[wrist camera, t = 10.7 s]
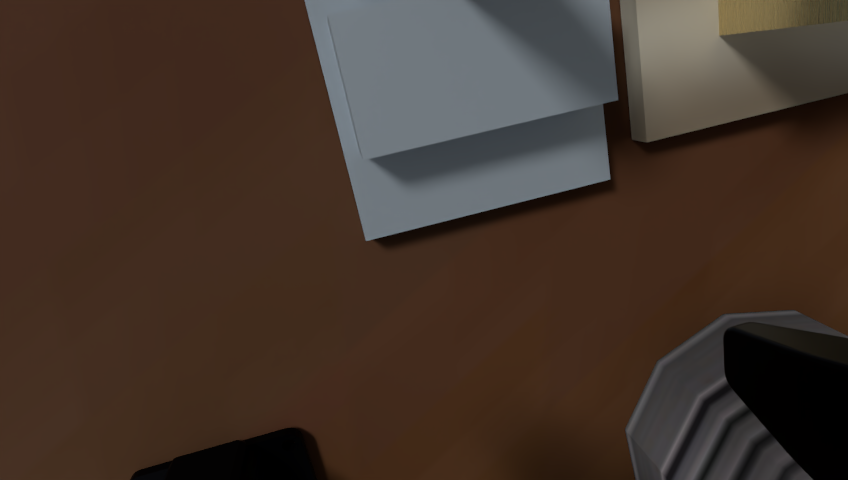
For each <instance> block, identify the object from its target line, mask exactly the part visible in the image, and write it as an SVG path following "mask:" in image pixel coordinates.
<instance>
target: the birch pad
mask: <svg viewBox="0 0 848 480" xmlns="http://www.w3.org/2000/svg"><path fill="white" fill-rule="evenodd" d="M620 8H621V20H622V32H623V43H624V55H625V66H626V78H627V90H628V101H629V113H630V125H631V136H632V140H636V141H641V142H651V141H655V140H659V139H663V138H667V137H671V136H675V135H679V134H683V133H688V132H692V131H696V130H700V129H704V128H708V127H712V126H716V125H720V124H724V123H728V122H732V121H736V120H740V119H744V118H748V117H752V116H756V115H760V114H765V113H769V112H773V111H777V110H781V109H785V108H789V107H793V106H797V105H801V104H805V103H809V102H813V101H817V100H821V99H825V98H829V97H833V96H838V95H842V94H846V93H848V21H841V22H833V23H824V24H816V25H807V26H798V27H790V28H781V29H772V30H764V31H755V32H746V33H738V34H729V35H720V36H719V13H718V0H620Z"/></svg>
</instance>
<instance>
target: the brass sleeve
mask: <svg viewBox="0 0 848 480" xmlns="http://www.w3.org/2000/svg"><path fill="white" fill-rule="evenodd" d="M718 13H719V36H720V35H729V34H738V33H746V32H755V31H764V30H772V29H781V28H790V27H798V26H807V25H816V24H824V23H833V22H841V21H848V0H718Z"/></svg>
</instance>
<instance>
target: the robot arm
mask: <svg viewBox="0 0 848 480" xmlns="http://www.w3.org/2000/svg"><path fill="white" fill-rule="evenodd" d="M723 347H724V372H725V377H726V380H727V382H728V384H729V385H730V387H731V388H732V390H733V391H734V392H735V393H736V394H737V395H738V397H739V398H740V399H741V400H742V401H743V402H744V403H745V405H746V406H747V407H748V408H749V409H750V410H751V412H752V413H753V414H754V415H755V416H756V417H757V418H758V420H759V421H760V422H761V423H762V424H763V425H764V427H765V428H766V429H767V430H768V431H769V432H770V433H771V435H772V436H773V437H774V438H775V439H776V440H777V442H778V443H779V444H780V445H781V446H782V447H783V449H784V450H785V451H786V452H787V453H788V454H789V455H790V456H791V457H792V458H793V460H794V461H795V462H796V463H797V464H798V465H799V466H800V467H801V468H802V469H803V470H804V471H805V472H806V473H807V474H808V475H809V476H810V477H811V478H812V479H813V480H848V338H846V337H840V336H834V335H828V334H822V333H816V332H810V331H804V330H798V329H792V328H786V327H781V326H775V325H769V324H763V323H757V322H746V323H743V324H739V325H736V326H732V327H729V328H728V329H726V330H725V332H724V335H723ZM286 440H292V441H294V442H295V443H293V444H289V445H288V444H285V443H284V441H286ZM130 480H317V478H316V475H315V472H314V469H313V466H312V463H311V460H310V457H309V454H308V451H307V448H306V445H305V442H304V439H303V436H302V434H301V433H300V431H298V430H297V429H294V428H285V429H282V430H278V431H275V432H271V433H268V434H264V435H261V436H257V437H254V438H250V439H247V440H243V441H241V440H236V441H233V442H229V443H226V444H222V445H219V446H215V447H212V448H208V449H205V450H201V451H197V452H194V453H190V454H187V455H183V456H180V457H176V458H174V459H173V461H169V462H166V463H162V464H159V465H155V466H152V467H148V468H145V469H141V470H139V471H137V472H135V473H134V474H133V475H132V477H131V479H130Z"/></svg>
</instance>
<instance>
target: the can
mask: <svg viewBox="0 0 848 480" xmlns="http://www.w3.org/2000/svg"><path fill="white" fill-rule="evenodd" d="M746 322H757V323H763V324H769V325H775V326H781V327H786V328H792V329H798V330H804V331H810V332H816V333H822V334H828V335H834V336H840V337H846V338H848V336H846V335H844V334H842V333H840V332H838V331H836V330H834V329H832V328H830V327H828V326H826V325H824V324H822V323H820V322H818V321H816V320H813V319H811V318H809V317H807V316H805V315H803V314H801V313H799V312H797V311H795V310H784V311H767V312H750V313H733V314H723V315H722V316H720V317H719V318H717V319H716V320H715V321H713V322H712V323H710V324H709V325H708V326H706V327H705V328H703V329H702V330H700V331H699V332H698V333H696V334H695V335H693V336H692V337H691V338H689V339H688V340H686V341H685V342H684V343H682V344H681V345H679V346H678V347H677V348H675V349H674V350H672V351H671V352H669V353H668V354H667V355H665V356H664V357H662V358H661V359H660V360H658V361H657V363H656V365H655V367H654V369H653V371H652V373H651V376H650V378H649V380H648V382H647V384H646V386H645V388H644V390H643V392H642V395H641V397H640V399H639V401H638V403H637V405H636V407H635V409H634V411H633V414H632V416H631V418H630V420H629V422H628V424H627V426H626V428H625V432H626V437H627V442H628V446H629V451H630V456H631V461H632V465H633V470H634V475H635V480H813V479H812V478H811V477H810V476H809V475H808V474H807V473H806V472H805V471H804V470H803V469H802V468H801V467H800V466H799V465H798V464H797V463H796V462H795V461H794V460H793V458H792V457H791V456H790V455H789V454H788V453H787V452H786V451H785V450H784V449H783V447H782V446H781V445H780V444H779V443H778V442H777V440H776V439H775V438H774V437H773V436H772V435H771V433H770V432H769V431H768V430H767V429H766V428H765V427H764V425H763V424H762V423H761V422H760V421H759V420H758V418H757V417H756V416H755V415H754V414H753V413H752V412H751V410H750V409H749V408H748V407H747V406H746V405H745V403H744V402H743V401H742V400H741V399H740V398H739V397H738V395H737V394H736V393H735V392H734V391H733V390H732V388H731V387H730V385H729V384H728V382H727V380H726V377H725V372H724V347H723V335H724V332H725V330H726V329H728V328H729V327H732V326H736V325H739V324H743V323H746Z"/></svg>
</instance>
